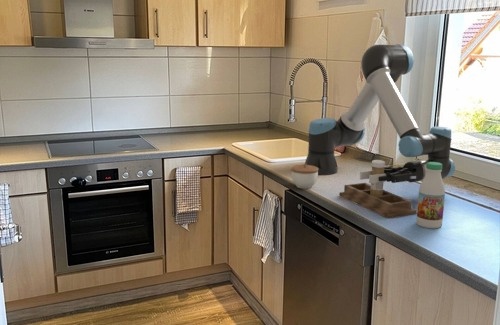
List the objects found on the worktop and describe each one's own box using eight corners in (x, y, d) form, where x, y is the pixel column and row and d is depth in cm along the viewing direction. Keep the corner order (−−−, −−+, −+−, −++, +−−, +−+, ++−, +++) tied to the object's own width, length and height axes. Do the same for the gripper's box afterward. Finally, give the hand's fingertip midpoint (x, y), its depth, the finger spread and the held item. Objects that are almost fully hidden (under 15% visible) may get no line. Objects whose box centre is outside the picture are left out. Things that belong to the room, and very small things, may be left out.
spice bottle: (367, 196, 179) (370, 159, 176) (380, 195, 179) (382, 159, 176) (372, 199, 174) (374, 162, 171) (384, 199, 175) (387, 162, 172)
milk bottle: (412, 220, 160) (417, 160, 156) (435, 220, 161) (441, 160, 156) (421, 229, 153) (427, 166, 148) (446, 229, 153) (452, 166, 149)
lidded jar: (300, 181, 207) (301, 159, 204) (322, 186, 200) (323, 163, 198) (285, 186, 198) (286, 164, 196) (308, 191, 192) (309, 168, 190)
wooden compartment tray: (339, 195, 187) (339, 184, 186) (365, 192, 192) (366, 181, 191) (387, 218, 162) (388, 206, 161) (416, 213, 167) (417, 201, 166)
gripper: (434, 187, 175) (380, 194, 166) (400, 175, 191) (349, 181, 182) (436, 166, 173) (382, 172, 164) (401, 156, 189) (350, 161, 180)
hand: (365, 177), depth 173 cm, fingers open, 5 cm apart
